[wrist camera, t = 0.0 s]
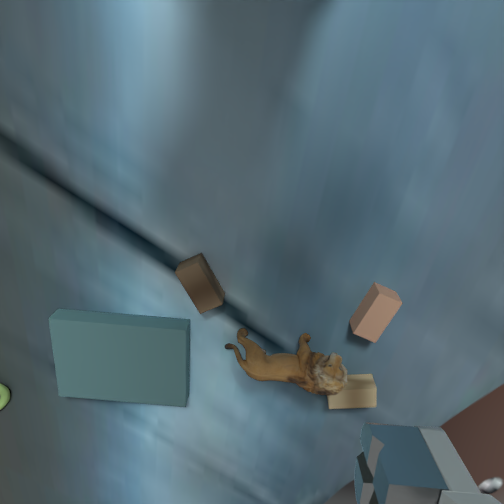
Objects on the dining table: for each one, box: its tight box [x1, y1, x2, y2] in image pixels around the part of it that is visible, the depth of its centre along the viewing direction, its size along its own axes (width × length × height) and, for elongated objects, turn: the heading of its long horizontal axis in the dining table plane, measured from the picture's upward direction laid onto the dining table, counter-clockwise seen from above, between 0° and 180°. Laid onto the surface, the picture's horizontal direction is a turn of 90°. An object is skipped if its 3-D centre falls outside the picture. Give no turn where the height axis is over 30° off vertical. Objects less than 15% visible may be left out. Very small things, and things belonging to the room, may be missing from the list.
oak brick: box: [327, 374, 377, 409], centre depth 54 cm, size 6×3×3 cm, turn 96°
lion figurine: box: [225, 328, 348, 396], centre depth 50 cm, size 15×5×9 cm, turn 94°
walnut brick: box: [175, 253, 225, 314], centre depth 49 cm, size 6×3×3 cm, turn 26°
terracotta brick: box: [349, 282, 402, 343], centre depth 50 cm, size 6×3×3 cm, turn 156°
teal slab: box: [49, 309, 190, 407], centre depth 54 cm, size 12×17×2 cm
